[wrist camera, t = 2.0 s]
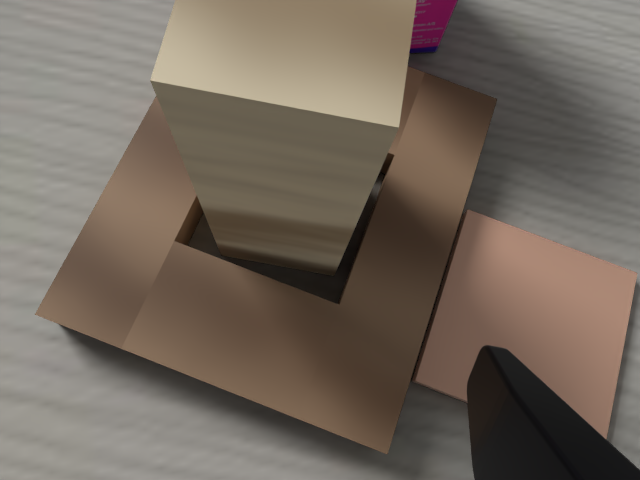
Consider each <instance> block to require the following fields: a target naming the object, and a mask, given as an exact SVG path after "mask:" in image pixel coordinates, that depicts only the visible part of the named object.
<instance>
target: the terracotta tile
mask: <svg viewBox="0 0 640 480" xmlns="http://www.w3.org/2000/svg"><path fill="white" fill-rule="evenodd" d="M636 278H637V273H636V272H633V271H631V270H628V269H626V268H623V267H620V266H618V265H615V264H612V263H610V262H607V261H604V260H602V259H599V258H596V257H594V256H591V255H588V254H586V253H583V252H580V251H578V250H575V249H572V248H570V247H567V246H564V245H562V244H559V243H556V242H554V241H551V240H548V239H546V238H543V237H540V236H538V235H535V234H532V233H530V232H527V231H524V230H522V229H519V228H517V227H514V226H511V225H509V224H506V223H503V222H501V221H498V220H495V219H493V218H490V217H487V216H485V215H482V214H479V213H477V212H474V211H471V210H469V209H468V210H467V211H466V212H465V213H464V214H463V217H462V220H461V223H460V226H459V230H458V233H457V236H456V239H455V243H454V246H453V249H452V252H451V256H450V259H449V262H448V265H447V269H446V272H445V275H444V278H443V282H442V285H441V288H440V291H439V295H438V298H437V301H436V304H435V307H434V311H433V314H432V317H431V320H430V324H429V327H428V330H427V333H426V337H425V340H424V343H423V346H422V350H421V353H420V356H419V359H418V363H417V366H416V369H415V372H414V376H413V379H412V382H415V383H417V384H420V385H422V386H425V387H428V388H430V389H433V390H435V391H438V392H440V393H443V394H445V395H448V396H451V397H453V398H456V399H458V400H461V401H463V402H466V403H467V382H468V378H469V376H470V373H471V371H472V368H473V366H474V363H475V361H476V358H477V356H478V353H479V351H480V349H481V348H482V347H483V346H485V345H491V346H496V347H502V348H506V349H508V350H509V351H510V352H511V353H512V354H513V355H514V356H516V357H517V358H518V359H519V360H520V361H521V362H522V363H523V364H524V365H525V366H526V367H528V368H529V369H530V370H531V371H532V372H533V373H534V374H535V375H536V376H537V377H538V378H540V379H541V380H542V381H543V382H544V383H545V384H546V385H547V386H548V387H549V388H551V389H552V390H553V391H554V392H555V393H556V394H557V395H558V396H559V397H560V398H561V399H563V400H564V401H565V402H566V403H567V404H568V405H569V406H570V407H571V408H572V409H573V410H575V411H576V412H577V413H578V414H579V415H580V416H581V417H582V418H583V419H584V420H586V421H587V422H588V423H589V424H590V425H591V426H592V427H593V428H594V429H595V430H596V431H598V432H599V433H600V434H601V435H602V436H603V437H604V438H605V439H607V434H608V428H609V423H610V418H611V412H612V407H613V402H614V396H615V391H616V385H617V380H618V375H619V369H620V364H621V359H622V353H623V348H624V342H625V337H626V332H627V326H628V321H629V315H630V310H631V305H632V299H633V294H634V289H635V283H636Z"/></svg>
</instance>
